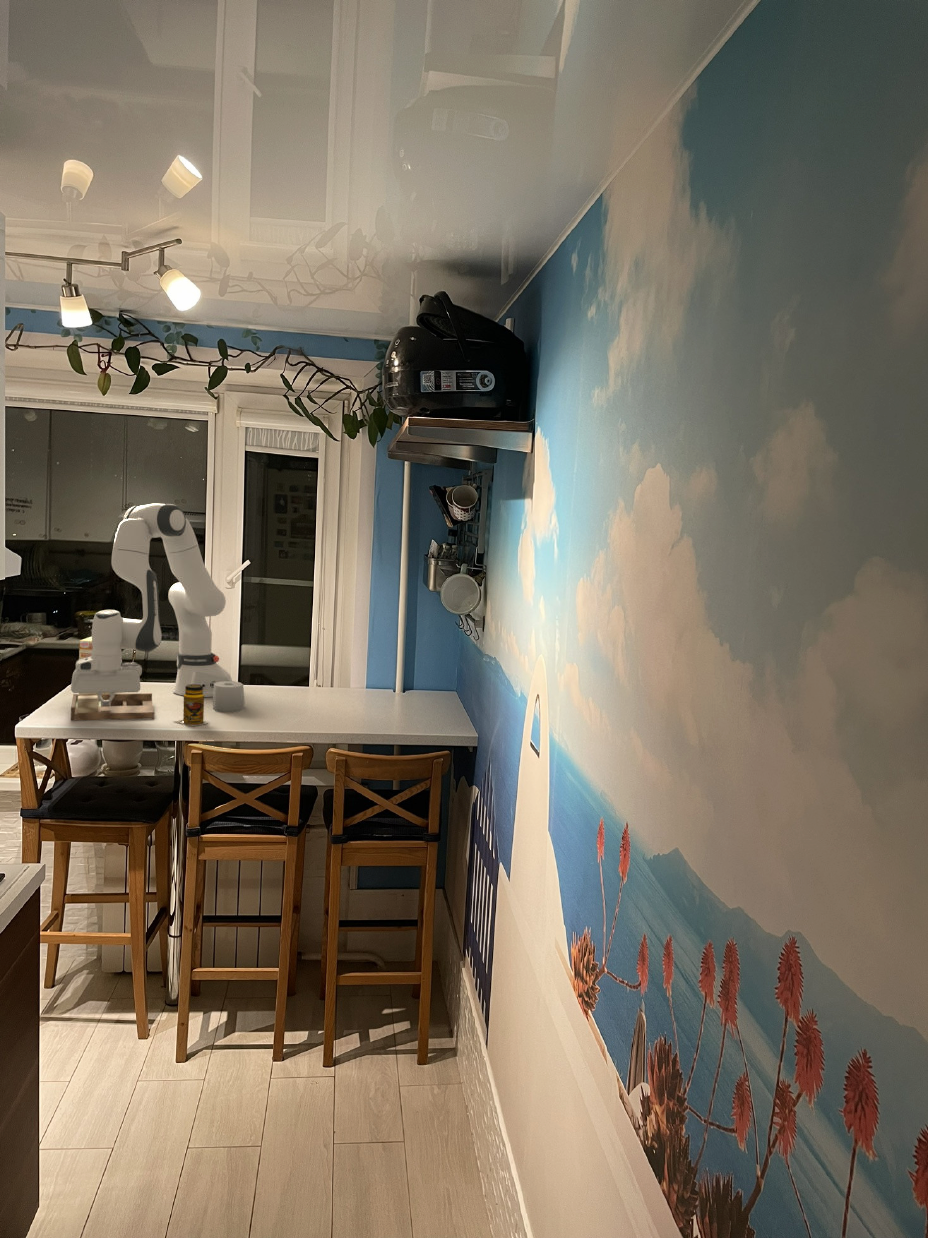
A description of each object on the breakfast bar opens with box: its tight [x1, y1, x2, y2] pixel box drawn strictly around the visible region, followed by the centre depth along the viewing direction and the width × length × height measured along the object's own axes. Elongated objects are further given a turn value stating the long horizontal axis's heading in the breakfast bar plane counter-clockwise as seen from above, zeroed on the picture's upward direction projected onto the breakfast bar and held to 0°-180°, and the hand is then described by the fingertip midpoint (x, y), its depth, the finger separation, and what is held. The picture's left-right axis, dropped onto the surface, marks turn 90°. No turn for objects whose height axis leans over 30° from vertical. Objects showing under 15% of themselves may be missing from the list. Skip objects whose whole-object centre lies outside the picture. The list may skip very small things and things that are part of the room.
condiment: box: [173, 684, 210, 728], centre depth 284 cm, size 7×8×12 cm
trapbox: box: [70, 692, 155, 721], centre depth 290 cm, size 24×18×4 cm
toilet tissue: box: [212, 680, 246, 714], centre depth 306 cm, size 9×13×9 cm
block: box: [77, 695, 99, 713], centre depth 283 cm, size 6×6×4 cm
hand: (105, 706), depth 285 cm, fingers closed
